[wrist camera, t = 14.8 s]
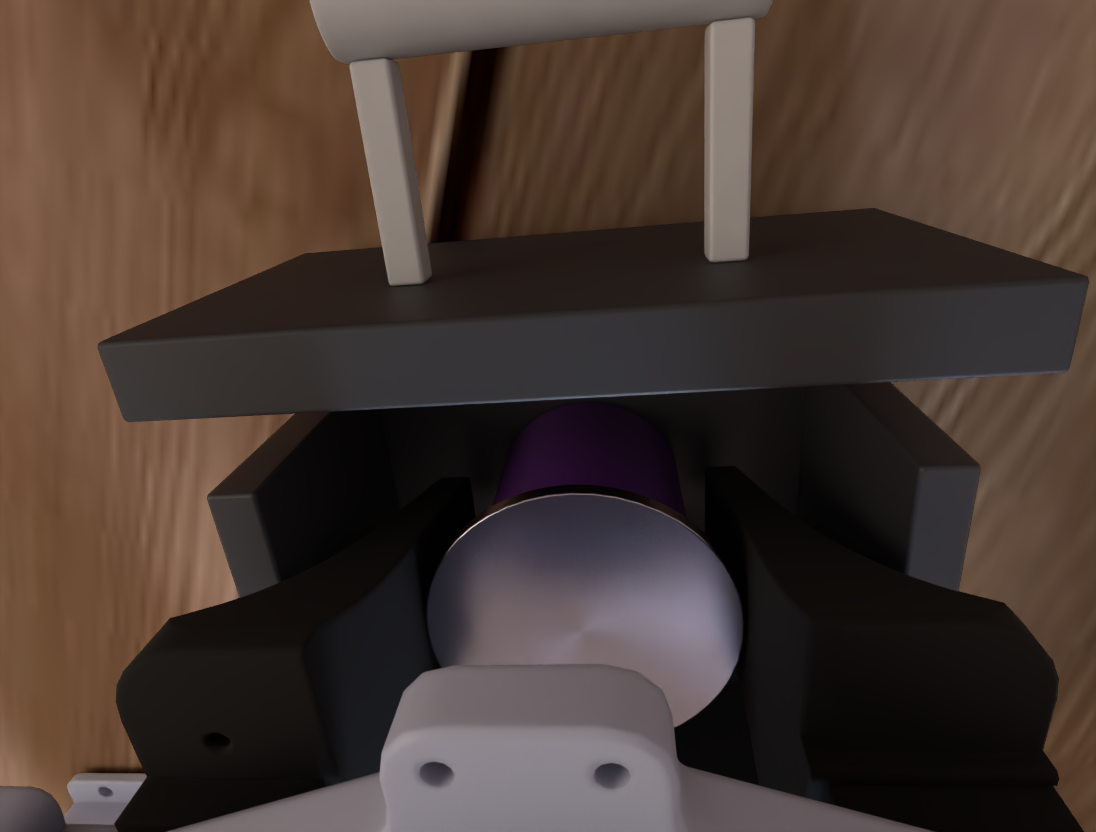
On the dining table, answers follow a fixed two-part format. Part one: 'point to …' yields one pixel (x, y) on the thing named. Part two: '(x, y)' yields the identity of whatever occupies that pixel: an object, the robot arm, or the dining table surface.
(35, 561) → the dining table surface
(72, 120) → the dining table surface
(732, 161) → the pod drawer
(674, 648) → the coffee pod
